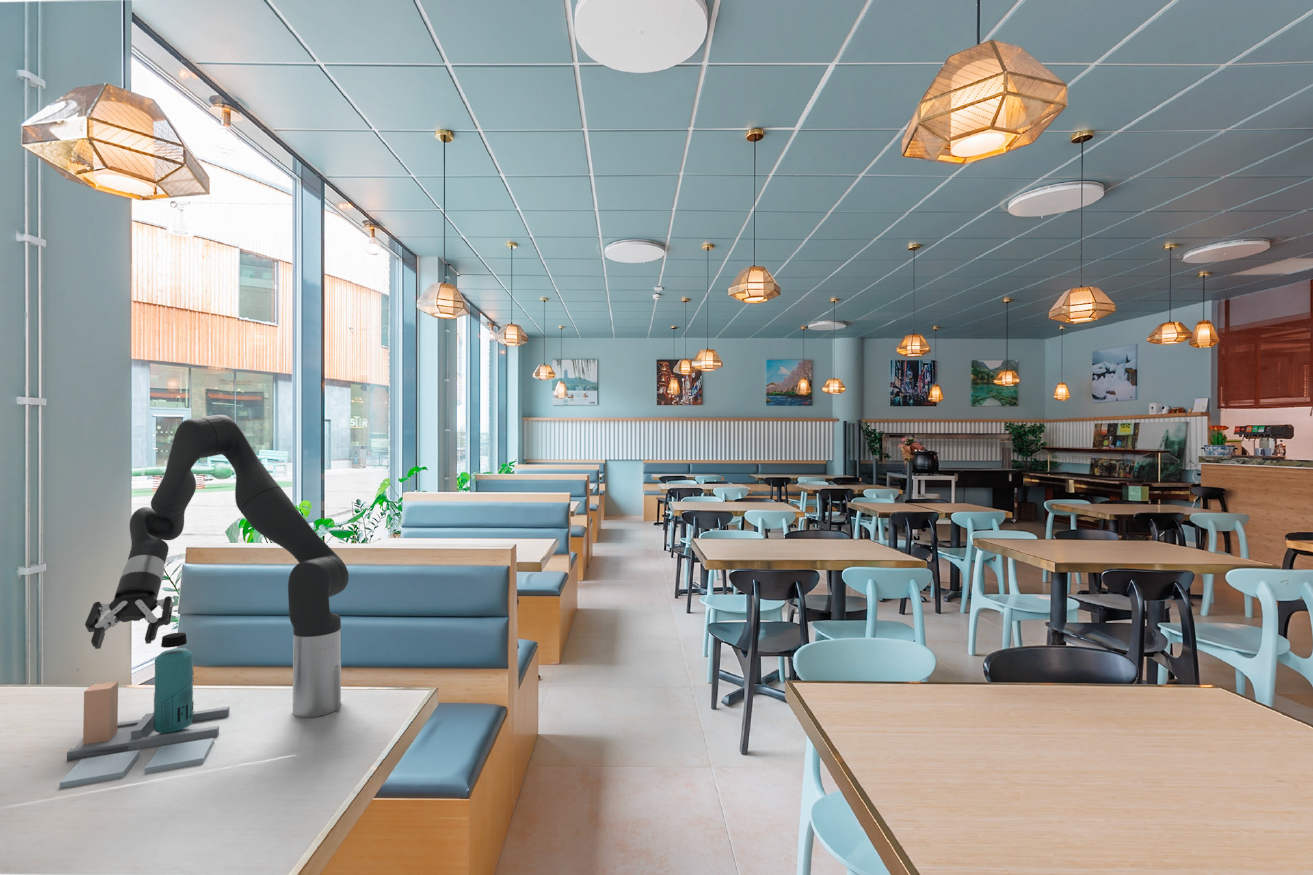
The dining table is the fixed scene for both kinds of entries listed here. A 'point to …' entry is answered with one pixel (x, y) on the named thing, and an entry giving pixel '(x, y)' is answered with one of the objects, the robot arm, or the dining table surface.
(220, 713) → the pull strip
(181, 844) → the dining table surface
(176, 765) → the split strip
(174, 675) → the beverage bottle
